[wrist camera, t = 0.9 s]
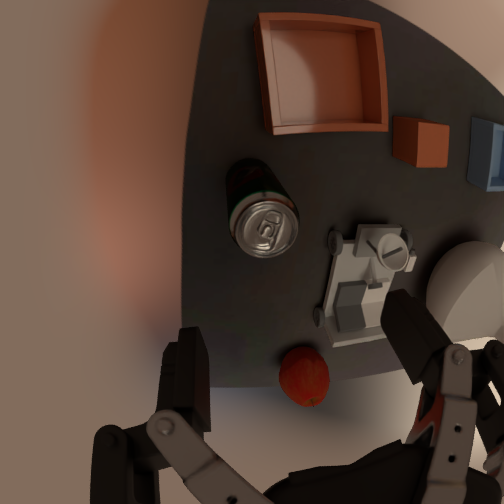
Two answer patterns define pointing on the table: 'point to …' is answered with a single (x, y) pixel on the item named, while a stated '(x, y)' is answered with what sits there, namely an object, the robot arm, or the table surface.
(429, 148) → the block
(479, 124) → the blue bin
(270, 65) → the terracotta bin
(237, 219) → the soda can
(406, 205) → the table surface
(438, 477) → the robot arm
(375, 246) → the toy car
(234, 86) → the table surface
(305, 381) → the apple
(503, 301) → the vase
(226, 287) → the table surface
